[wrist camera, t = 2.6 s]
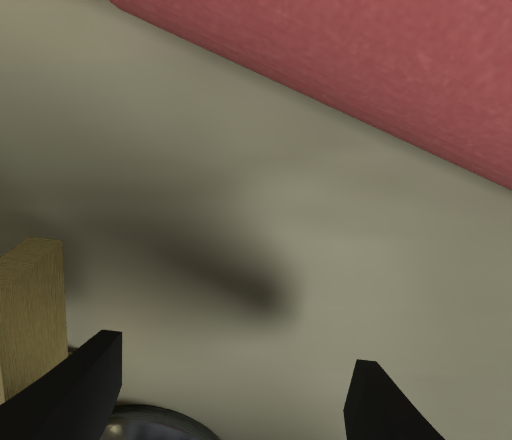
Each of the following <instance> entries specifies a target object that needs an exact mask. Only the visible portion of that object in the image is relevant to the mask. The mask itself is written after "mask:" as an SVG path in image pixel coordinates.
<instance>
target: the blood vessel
mask: <svg viewBox="0 0 512 440" xmlns="http://www.w3.org/2000/svg"><path fill="white" fill-rule="evenodd" d="M110 2H111V3H113V4H114V5H115V6H117V7H118V8H119V9H121V10H123V11H125V12H127V13H129V14H131V15H133V16H136V17H138V18H140V19H142V20H144V21H146V22H149V23H151V24H153V25H155V26H157V27H159V28H162V29H164V30H166V31H168V32H170V33H172V34H174V35H177V36H179V37H181V38H183V39H185V40H187V41H190V42H192V43H194V44H196V45H198V46H200V47H203V48H205V49H207V50H209V51H211V52H213V53H216V54H218V55H220V56H222V57H224V58H226V59H229V60H231V61H233V62H235V63H237V64H239V65H242V66H244V67H246V68H248V69H250V70H252V71H255V72H257V73H259V74H261V75H263V76H265V77H267V78H270V79H272V80H274V81H276V82H278V83H280V84H283V85H285V86H287V87H289V88H291V89H293V90H296V91H298V92H300V93H302V94H304V95H306V96H309V97H311V98H313V99H315V100H317V101H319V102H322V103H324V104H326V105H328V106H330V107H332V108H335V109H337V110H339V111H341V112H343V113H345V114H348V115H350V116H352V117H354V118H356V119H358V120H360V121H363V122H365V123H367V124H369V125H371V126H373V127H376V128H378V129H380V130H382V131H384V132H386V133H389V134H391V135H393V136H395V137H397V138H399V139H402V140H404V141H406V142H408V143H410V144H412V145H415V146H417V147H419V148H421V149H423V150H425V151H428V152H430V153H432V154H434V155H436V156H438V157H441V158H443V159H445V160H447V161H449V162H451V163H453V164H456V165H458V166H460V167H462V168H464V169H466V170H469V171H471V172H473V173H475V174H477V175H479V176H482V177H484V178H486V179H488V180H490V181H492V182H495V183H497V184H499V185H501V186H503V187H505V188H508V189H510V190H512V0H110Z"/></svg>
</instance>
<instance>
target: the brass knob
mask: <svg viewBox="0 0 512 440" xmlns="http://www.w3.org/2000/svg"><path fill="white" fill-rule="evenodd" d="M72 353H73V352H68V346H67V327H66V308H65V289H64V270H63V251H62V241H61V240H53V239H45V238H36V237H29V238H27V239H26V240H24V241H23V242H21V243H20V244H19V245H17V246H16V247H14V248H13V249H11V250H10V251H9V252H7V253H6V254H4V255H3V256H1V257H0V405H1V404H2V403H4V402H6V401H7V400H9V399H10V398H12V397H13V396H15V395H16V394H18V393H19V392H21V391H22V390H23V389H25V388H26V387H28V386H29V385H31V384H32V383H33V382H35V381H36V380H38V379H39V378H41V377H42V376H43V375H45V374H46V373H47V372H49V371H50V370H51V369H53V368H54V367H55V366H56V365H58V364H59V363H60V362H62V361H63V360H64V359H66V358H67V357H68V356H69V355H71V354H72Z"/></svg>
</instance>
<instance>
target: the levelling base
mask: <svg viewBox="0 0 512 440" xmlns="http://www.w3.org/2000/svg"><path fill="white" fill-rule="evenodd" d="M100 440H220V439H219V438H218V437H217V436H216V435H215V434H214V433H212V432H211V431H210V430H209V429H208V428H206V427H205V426H203V425H201V424H200V423H198V422H197V421H195V420H193V419H191V418H189V417H187V416H184V415H182V414H179V413H176V412H174V411H170V410H166V409H162V408H157V407H151V406H140V405H127V406H116V407H114V409H113V412H112V414H111V417H110V419H109V421H108V424H107V426H106V428H105V430H104V432H103V434H102V436H101V438H100Z"/></svg>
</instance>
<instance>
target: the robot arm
mask: <svg viewBox="0 0 512 440" xmlns="http://www.w3.org/2000/svg"><path fill="white" fill-rule="evenodd" d="M121 386H122V332H118V331H110V330H101V331H100V332H98V333H97V334H96V335H94V336H93V337H92V338H91V339H89V340H88V341H87V342H86V343H84V344H83V345H82V346H81V347H79V348H78V349H77V350H76V351H74V352H73V353H72V354H71V355H69V356H68V357H67V358H66V359H64V360H63V361H62V362H60V363H59V364H58V365H56V366H55V367H54V368H53V369H51V370H50V371H49V372H47V373H46V374H45V375H43V376H42V377H41V378H39V379H38V380H36V381H35V382H33V383H32V384H31V385H29V386H28V387H26V388H25V389H23V390H22V391H21V392H19V393H18V394H16V395H15V396H13V397H12V398H10V399H9V400H7V401H6V402H4V403H2V404H1V405H0V440H100V438H101V436H102V434H103V432H104V430H105V428H106V426H107V424H108V421H109V419H110V417H111V414H112V412H113V409H114V406H115V403H116V400H117V398H118V395H119V392H120V389H121ZM343 412H344V420H345V428H346V435H347V440H445V439H444V438H443V437H442V436H441V435H440V434H439V433H438V432H437V431H436V430H435V429H434V428H433V427H432V425H431V424H430V423H429V422H428V421H427V420H426V419H425V418H424V417H423V416H422V415H421V413H420V412H419V411H418V410H417V409H416V408H415V407H414V405H413V404H412V403H411V402H410V401H409V400H408V398H407V397H406V396H405V395H404V394H403V393H402V391H401V390H400V389H399V388H398V387H397V385H396V384H395V383H394V382H393V381H392V379H391V378H390V377H389V376H388V375H387V373H386V372H385V371H384V370H383V369H382V367H381V366H380V365H379V364H378V363H377V362H376V361H367V360H359V359H357V360H356V364H355V368H354V372H353V376H352V379H351V383H350V387H349V391H348V395H347V398H346V402H345V406H344V410H343Z"/></svg>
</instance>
